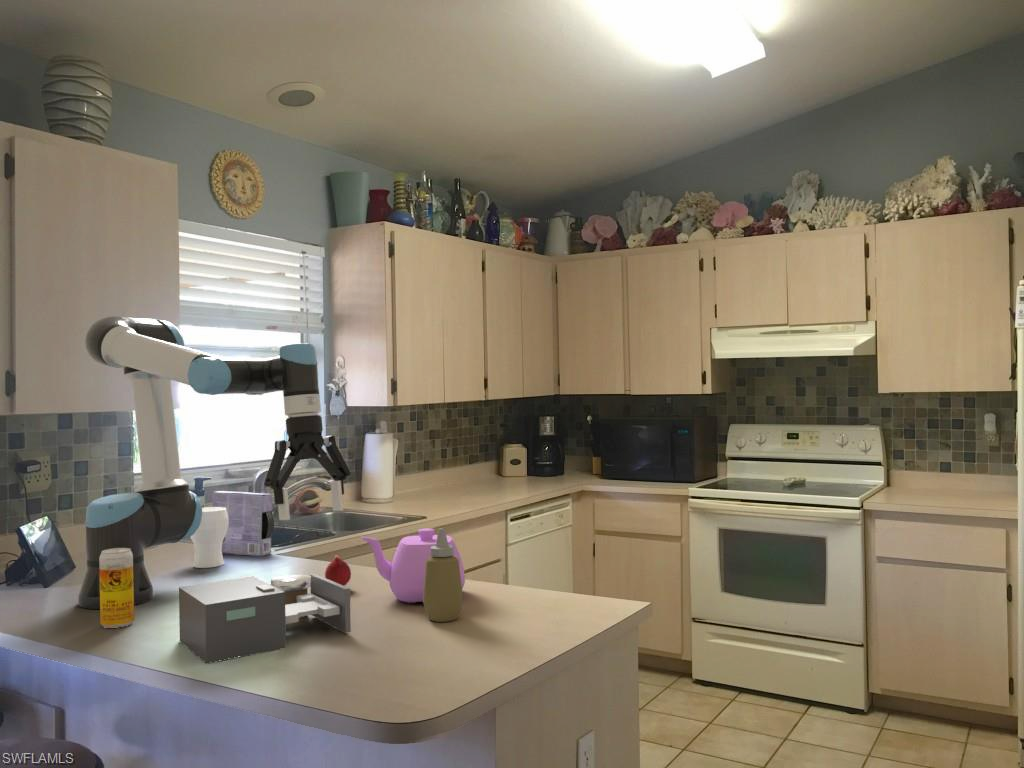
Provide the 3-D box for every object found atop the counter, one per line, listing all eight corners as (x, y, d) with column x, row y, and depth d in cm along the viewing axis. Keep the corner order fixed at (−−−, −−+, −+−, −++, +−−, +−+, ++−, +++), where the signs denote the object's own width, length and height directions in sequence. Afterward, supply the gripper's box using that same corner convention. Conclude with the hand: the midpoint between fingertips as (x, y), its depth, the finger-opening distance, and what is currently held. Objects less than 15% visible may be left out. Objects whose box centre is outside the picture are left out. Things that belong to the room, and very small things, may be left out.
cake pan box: (275, 553, 244) (274, 491, 244) (264, 557, 239) (263, 494, 239) (222, 550, 251) (221, 490, 251) (210, 553, 246) (209, 492, 247)
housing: (179, 640, 159) (178, 585, 159) (254, 627, 167) (253, 574, 167) (206, 663, 145) (205, 602, 145) (286, 648, 153) (285, 590, 153)
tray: (248, 626, 166) (247, 584, 166) (315, 614, 174) (315, 573, 174) (279, 646, 153) (278, 600, 153) (350, 631, 161) (349, 588, 161)
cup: (178, 568, 225) (177, 511, 226) (204, 560, 236) (203, 506, 236) (213, 570, 222) (212, 512, 222) (237, 562, 233) (236, 506, 233)
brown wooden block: (275, 615, 176) (274, 586, 176) (298, 611, 179) (298, 582, 179) (284, 620, 172) (283, 590, 172) (308, 616, 174) (307, 586, 174)
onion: (354, 587, 200) (353, 553, 200) (346, 593, 194) (346, 558, 194) (329, 587, 200) (329, 553, 200) (322, 593, 195) (321, 558, 195)
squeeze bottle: (469, 614, 173) (468, 526, 173) (454, 625, 165) (452, 532, 166) (433, 612, 176) (431, 524, 176) (416, 622, 168) (414, 531, 168)
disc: (265, 586, 176) (265, 578, 176) (302, 580, 181) (302, 572, 181) (279, 593, 169) (279, 585, 169) (317, 587, 174) (317, 579, 174)
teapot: (462, 583, 202) (461, 519, 202) (467, 605, 181) (465, 534, 181) (365, 587, 200) (364, 522, 200) (358, 610, 179) (357, 538, 179)
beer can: (101, 631, 166) (99, 554, 167) (100, 623, 172) (98, 549, 172) (135, 626, 169) (133, 551, 169) (132, 619, 175) (131, 546, 175)
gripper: (261, 417, 170) (270, 524, 169) (360, 411, 189) (369, 506, 188) (241, 420, 175) (250, 524, 174) (340, 413, 194) (348, 507, 193)
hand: (312, 515), depth 181 cm, fingers open, 13 cm apart
